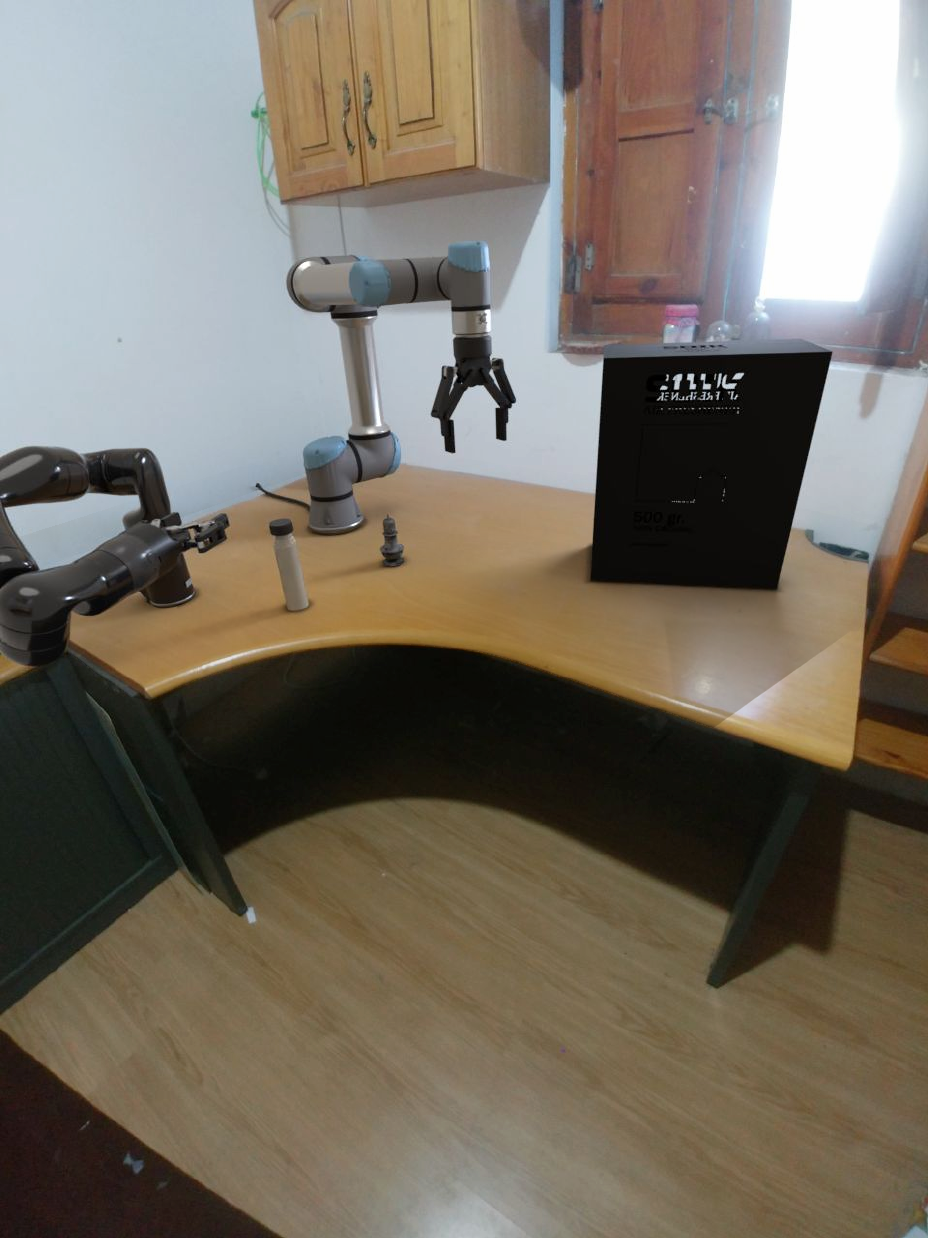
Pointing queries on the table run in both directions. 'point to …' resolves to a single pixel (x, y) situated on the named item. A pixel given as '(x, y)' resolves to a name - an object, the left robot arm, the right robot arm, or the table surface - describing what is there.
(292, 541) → the bottle
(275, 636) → the table surface
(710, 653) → the table surface
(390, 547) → the grey tall tiered piece
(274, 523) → the cap
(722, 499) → the cardboard box
